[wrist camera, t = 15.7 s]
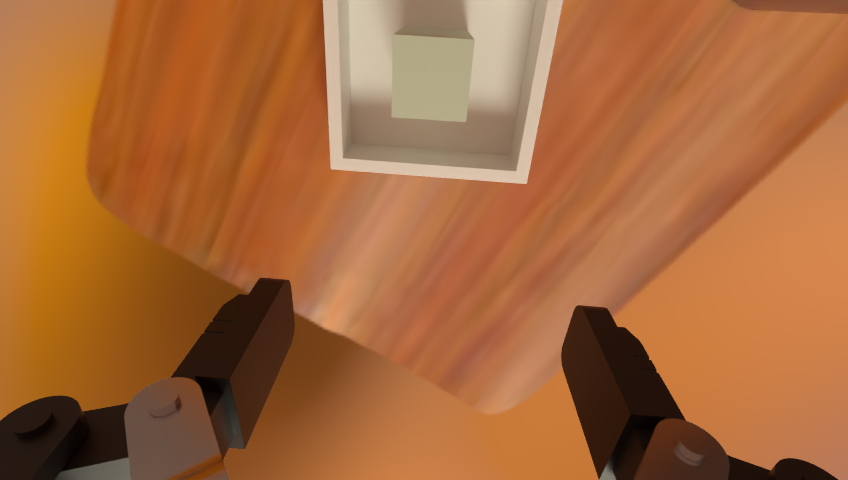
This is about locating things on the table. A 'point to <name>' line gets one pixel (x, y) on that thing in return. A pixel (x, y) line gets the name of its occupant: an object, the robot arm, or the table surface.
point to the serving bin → (488, 96)
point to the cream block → (431, 73)
